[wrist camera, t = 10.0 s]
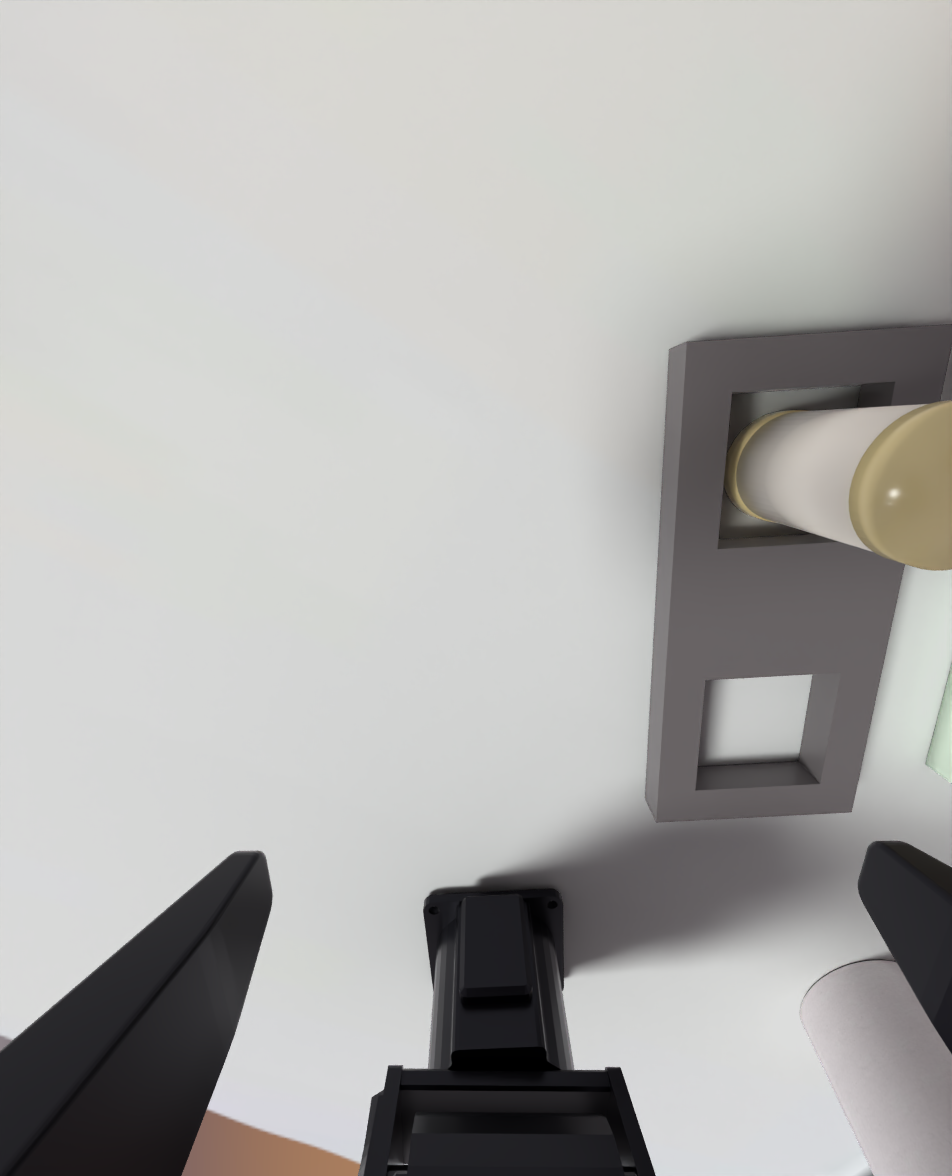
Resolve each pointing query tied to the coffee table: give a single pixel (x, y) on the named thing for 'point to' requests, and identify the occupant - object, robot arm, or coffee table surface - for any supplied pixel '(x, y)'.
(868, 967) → the coffee cup
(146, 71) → the coffee table surface
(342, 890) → the coffee table surface
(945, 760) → the parts tray
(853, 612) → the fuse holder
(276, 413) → the coffee table surface
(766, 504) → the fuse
